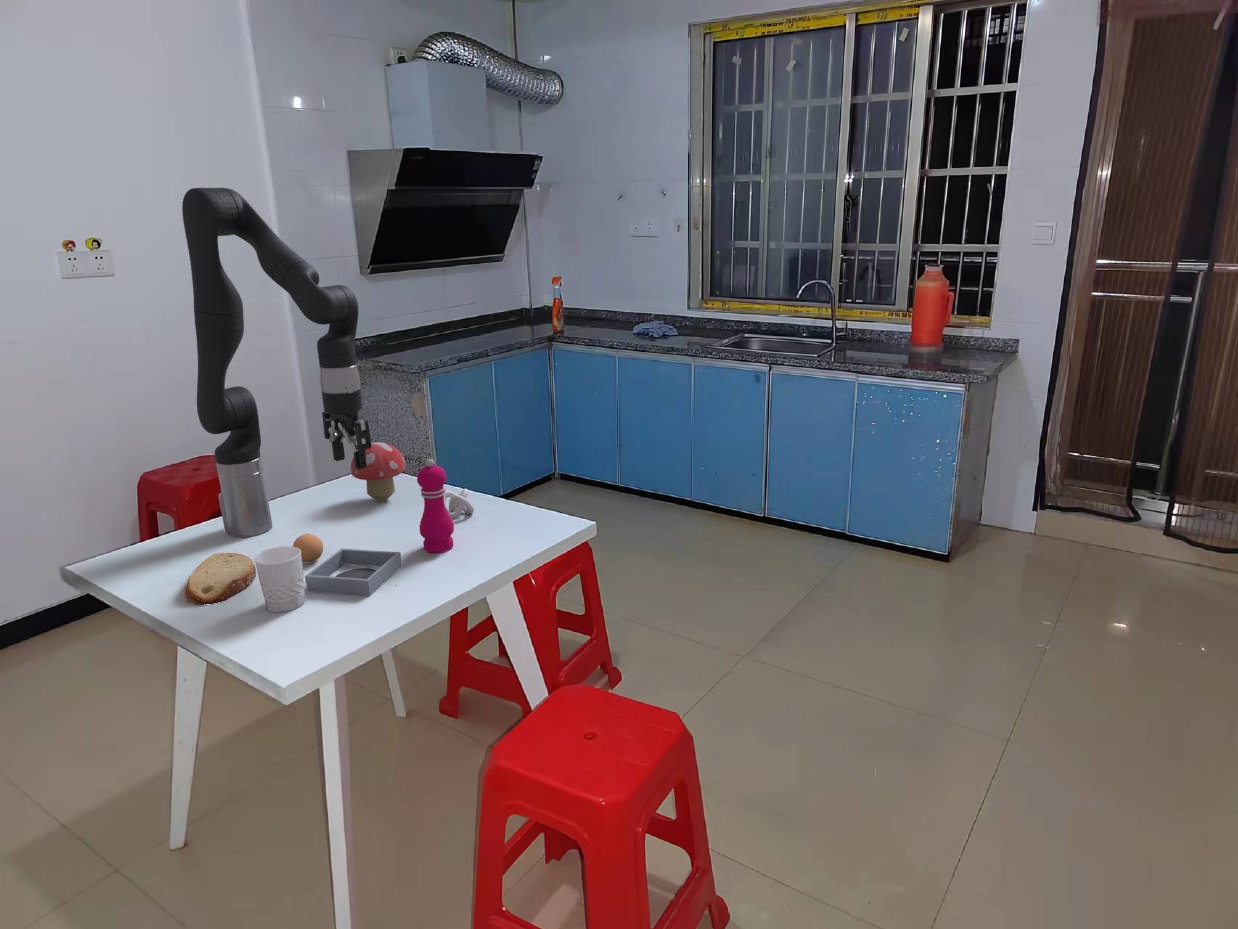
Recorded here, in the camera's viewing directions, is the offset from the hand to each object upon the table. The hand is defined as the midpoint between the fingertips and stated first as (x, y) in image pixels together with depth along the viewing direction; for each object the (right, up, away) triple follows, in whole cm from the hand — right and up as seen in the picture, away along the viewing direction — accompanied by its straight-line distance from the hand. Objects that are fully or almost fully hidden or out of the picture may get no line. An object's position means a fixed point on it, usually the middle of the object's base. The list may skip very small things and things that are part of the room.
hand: (350, 464), depth 163 cm
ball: (-9, -17, 0) cm, 20 cm away
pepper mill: (+17, -18, +7) cm, 26 cm away
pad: (+4, -23, -7) cm, 24 cm away
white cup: (-6, -26, -17) cm, 32 cm away
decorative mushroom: (-4, -9, +37) cm, 38 cm away
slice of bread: (-24, -24, -6) cm, 34 cm away
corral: (+4, -23, -7) cm, 24 cm away
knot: (+17, -12, +25) cm, 33 cm away
